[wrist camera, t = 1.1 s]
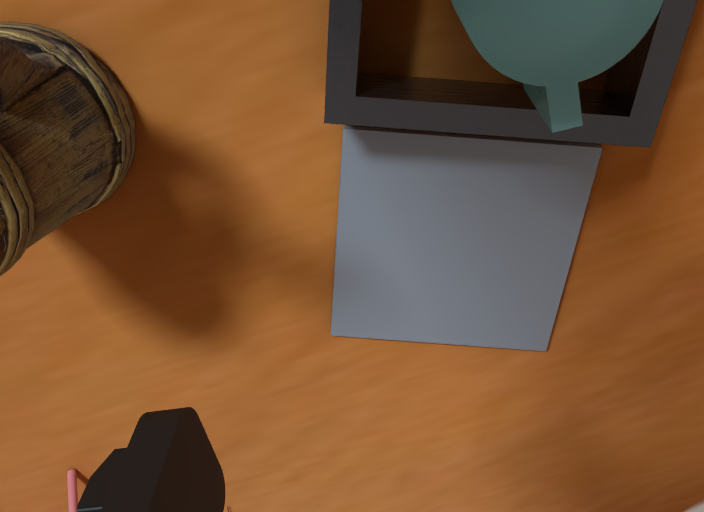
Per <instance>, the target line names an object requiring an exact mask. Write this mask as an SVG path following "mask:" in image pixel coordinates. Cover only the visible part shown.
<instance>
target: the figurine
mask: <svg viewBox="0 0 704 512" xmlns="http://www.w3.org/2000/svg"><path fill="white" fill-rule="evenodd" d="M67 476H68V502H69V512H77V505H78V497H77V476H76V470H69V471H68V472H67ZM227 509H228V506H227ZM228 512H229V510H228Z"/></svg>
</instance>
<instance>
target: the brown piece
mask: <svg viewBox="0 0 704 512" xmlns="http://www.w3.org/2000/svg"><path fill="white" fill-rule="evenodd" d="M134 152H135V120H134V117H133V114H132V111H131V108H130V104H129V101H128V98H127V95H126V94H125V92H124V91H123V90H122V88H121V87H120V85H119V84H118V82H117V81H116V80H115V78H114V77H113V75H112V74H111V72H110V71H109V70H108V69H107V68H106V67H105V66H104V65H103V64H102V63H101V62H99V61H98V60H97V59H96V58H95V57H94V56H93V55H92V54H90V53H89V52H88V51H87V50H86V49H85V48H83V47H82V46H81V45H80V44H79V43H77V42H76V41H75V40H74V39H72V38H70V37H69V36H67V35H65V34H63V33H61V32H60V31H57V30H54V29H50V28H47V27H43V26H39V25H36V24H28V23H15V22H2V23H0V276H1V275H2V274H4V273H5V272H7V271H8V270H9V269H10V268H11V267H12V266H13V265H14V264H15V263H16V262H17V261H18V260H19V259H20V258H21V256H22V255H23V253H24V251H25V250H26V249H27V248H28V247H30V246H31V245H33V244H34V243H36V242H37V241H38V240H40V239H41V238H43V237H44V236H46V235H47V234H49V233H50V232H52V231H53V230H54V229H56V228H57V227H59V226H60V225H62V224H63V223H65V222H66V221H67V220H69V219H70V218H72V217H73V216H75V215H78V214H80V213H82V212H84V211H86V210H88V209H90V208H93V207H95V206H97V205H98V204H100V203H101V202H103V201H105V200H106V199H108V198H109V197H110V196H111V195H112V194H113V193H114V192H115V191H116V190H117V188H118V187H119V186H120V185H121V184H122V183H123V181H124V179H125V177H126V175H127V173H128V171H129V169H130V167H131V165H132V161H133V156H134Z"/></svg>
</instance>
